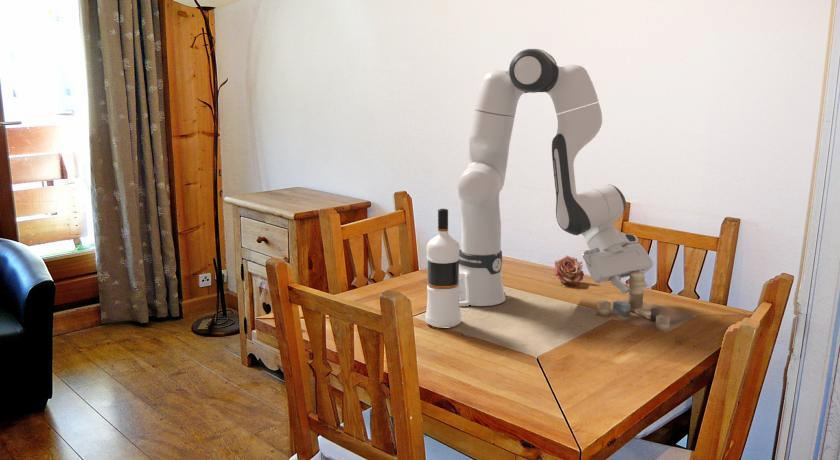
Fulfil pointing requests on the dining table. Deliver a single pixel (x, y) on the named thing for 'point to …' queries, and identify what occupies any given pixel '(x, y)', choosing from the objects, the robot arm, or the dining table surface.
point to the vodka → (443, 277)
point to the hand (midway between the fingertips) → (635, 289)
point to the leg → (639, 296)
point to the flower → (569, 270)
